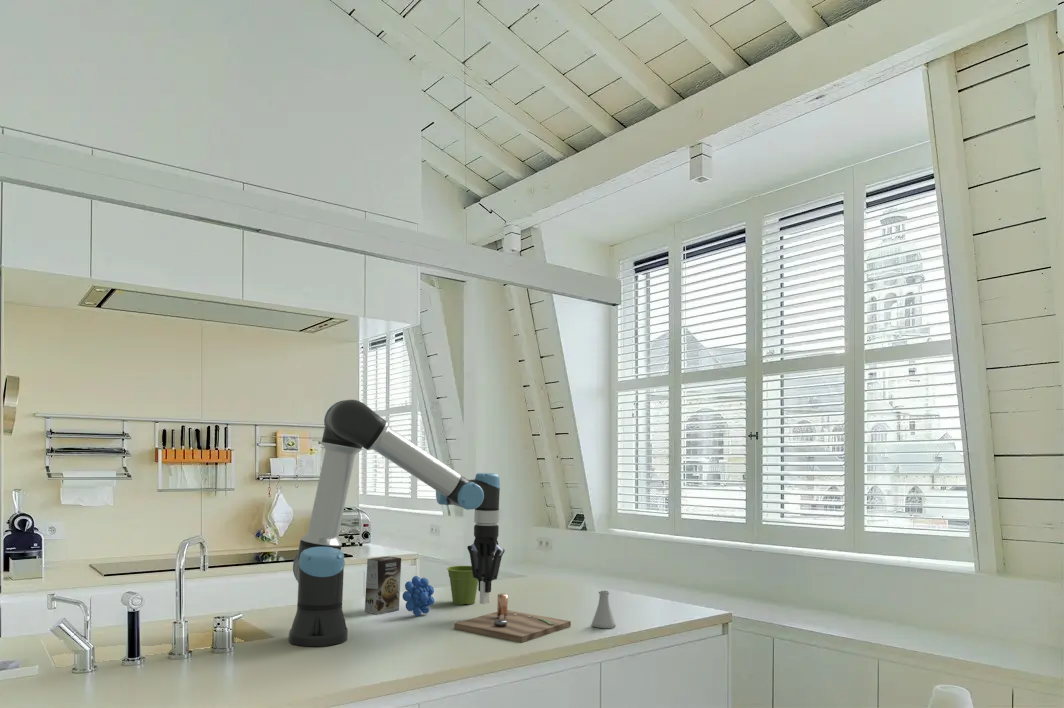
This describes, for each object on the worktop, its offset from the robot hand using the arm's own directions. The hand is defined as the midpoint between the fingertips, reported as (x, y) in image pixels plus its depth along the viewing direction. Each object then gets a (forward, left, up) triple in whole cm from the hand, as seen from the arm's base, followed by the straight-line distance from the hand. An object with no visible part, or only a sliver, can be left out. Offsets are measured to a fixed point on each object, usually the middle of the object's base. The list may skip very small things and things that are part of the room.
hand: (484, 603), depth 247 cm
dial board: (-4, -14, -4) cm, 15 cm away
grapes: (-11, +16, -5) cm, 20 cm away
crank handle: (-5, -11, -3) cm, 12 cm away
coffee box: (-13, +30, -5) cm, 33 cm away
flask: (+15, -33, -5) cm, 37 cm away
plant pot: (+13, +19, -5) cm, 23 cm away
